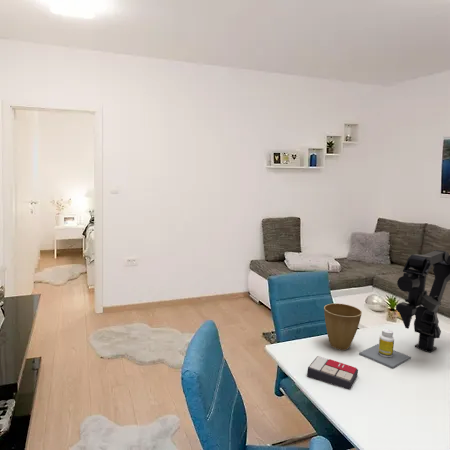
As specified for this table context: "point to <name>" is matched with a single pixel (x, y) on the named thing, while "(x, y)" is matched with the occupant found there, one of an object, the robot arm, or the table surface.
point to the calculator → (332, 372)
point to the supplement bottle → (386, 343)
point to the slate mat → (387, 361)
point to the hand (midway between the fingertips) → (412, 325)
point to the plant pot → (341, 324)
